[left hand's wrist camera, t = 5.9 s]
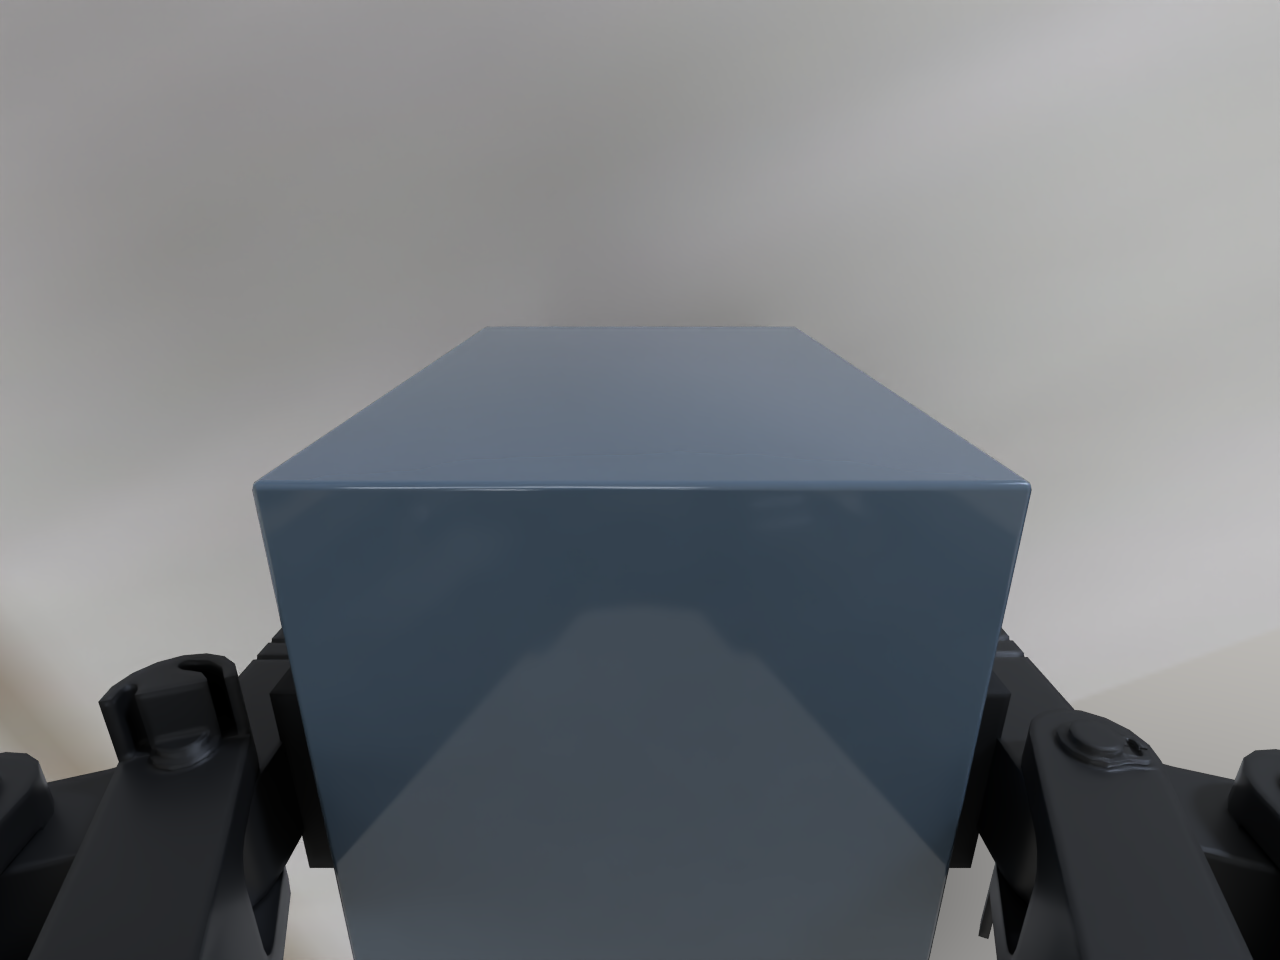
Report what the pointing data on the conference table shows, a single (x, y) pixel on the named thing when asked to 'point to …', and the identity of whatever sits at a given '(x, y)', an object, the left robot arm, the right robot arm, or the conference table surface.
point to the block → (641, 648)
